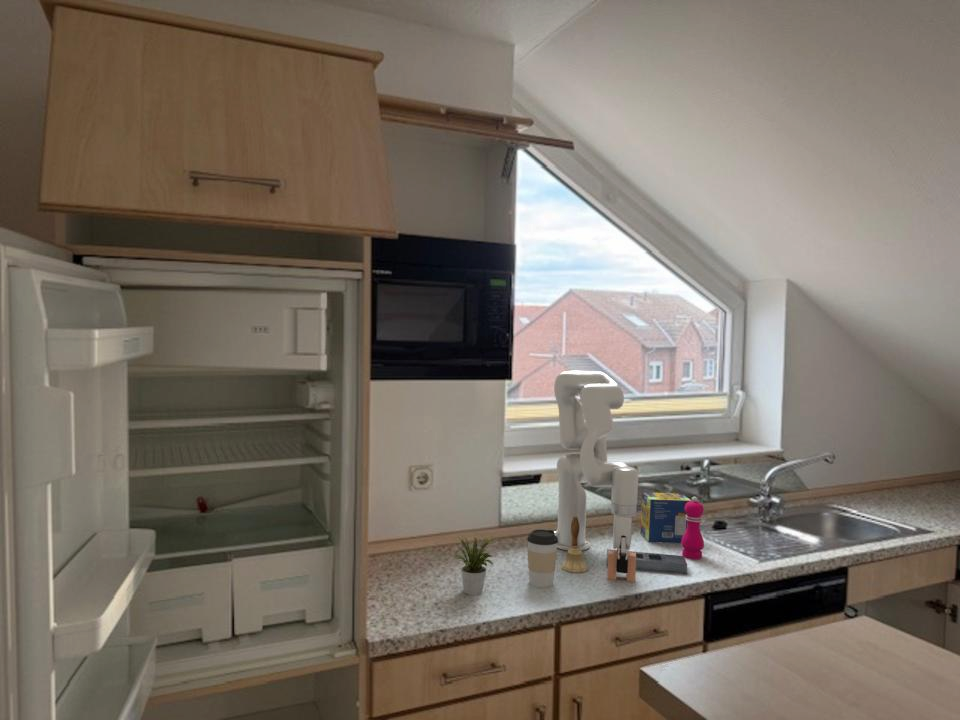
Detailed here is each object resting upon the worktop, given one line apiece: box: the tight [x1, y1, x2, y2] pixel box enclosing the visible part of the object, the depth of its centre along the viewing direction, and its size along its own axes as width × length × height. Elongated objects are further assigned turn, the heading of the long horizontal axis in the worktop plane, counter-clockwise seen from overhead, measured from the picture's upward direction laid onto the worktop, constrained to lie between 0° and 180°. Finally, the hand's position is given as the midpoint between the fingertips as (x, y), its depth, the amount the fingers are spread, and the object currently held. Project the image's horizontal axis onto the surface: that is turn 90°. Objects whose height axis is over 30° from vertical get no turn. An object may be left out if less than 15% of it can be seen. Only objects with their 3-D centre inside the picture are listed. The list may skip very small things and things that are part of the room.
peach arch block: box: [606, 551, 637, 582], centre depth 194 cm, size 8×3×8 cm, turn 80°
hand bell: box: [560, 517, 589, 574], centre depth 201 cm, size 8×8×16 cm
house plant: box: [446, 531, 494, 596], centre depth 180 cm, size 14×14×16 cm
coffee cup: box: [526, 529, 558, 588], centre depth 188 cm, size 9×9×15 cm
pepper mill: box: [680, 496, 705, 560], centre depth 216 cm, size 7×7×20 cm
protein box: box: [639, 492, 692, 544], centre depth 235 cm, size 10×15×16 cm
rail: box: [606, 548, 688, 575], centre depth 206 cm, size 24×8×3 cm, turn 80°
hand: (621, 568), depth 194 cm, fingers open, 5 cm apart
